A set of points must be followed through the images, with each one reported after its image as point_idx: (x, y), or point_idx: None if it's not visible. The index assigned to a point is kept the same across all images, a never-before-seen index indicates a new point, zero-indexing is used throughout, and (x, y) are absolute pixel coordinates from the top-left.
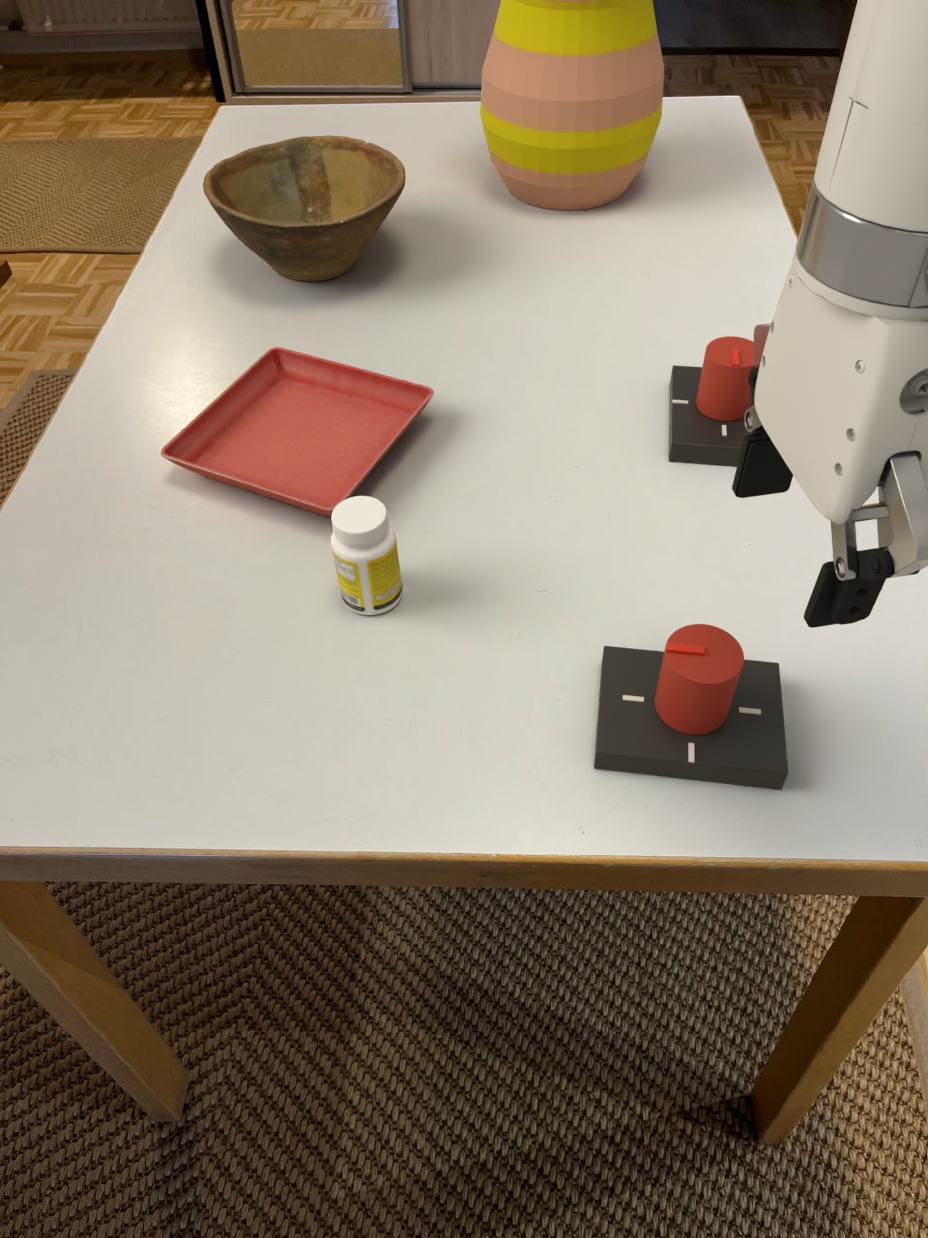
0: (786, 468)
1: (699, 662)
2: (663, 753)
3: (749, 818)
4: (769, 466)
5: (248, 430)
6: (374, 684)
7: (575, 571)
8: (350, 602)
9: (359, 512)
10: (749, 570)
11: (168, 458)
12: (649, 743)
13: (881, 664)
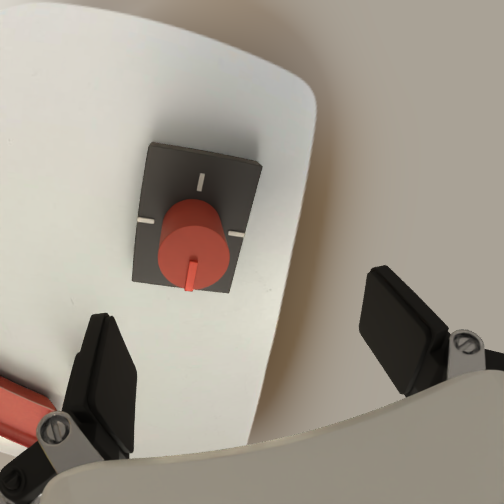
0: (110, 361)
1: (205, 265)
2: (234, 252)
3: (276, 189)
4: (120, 390)
5: (11, 422)
6: (162, 382)
7: (50, 279)
8: None
9: None
10: (34, 142)
11: None
12: None
13: (142, 47)
